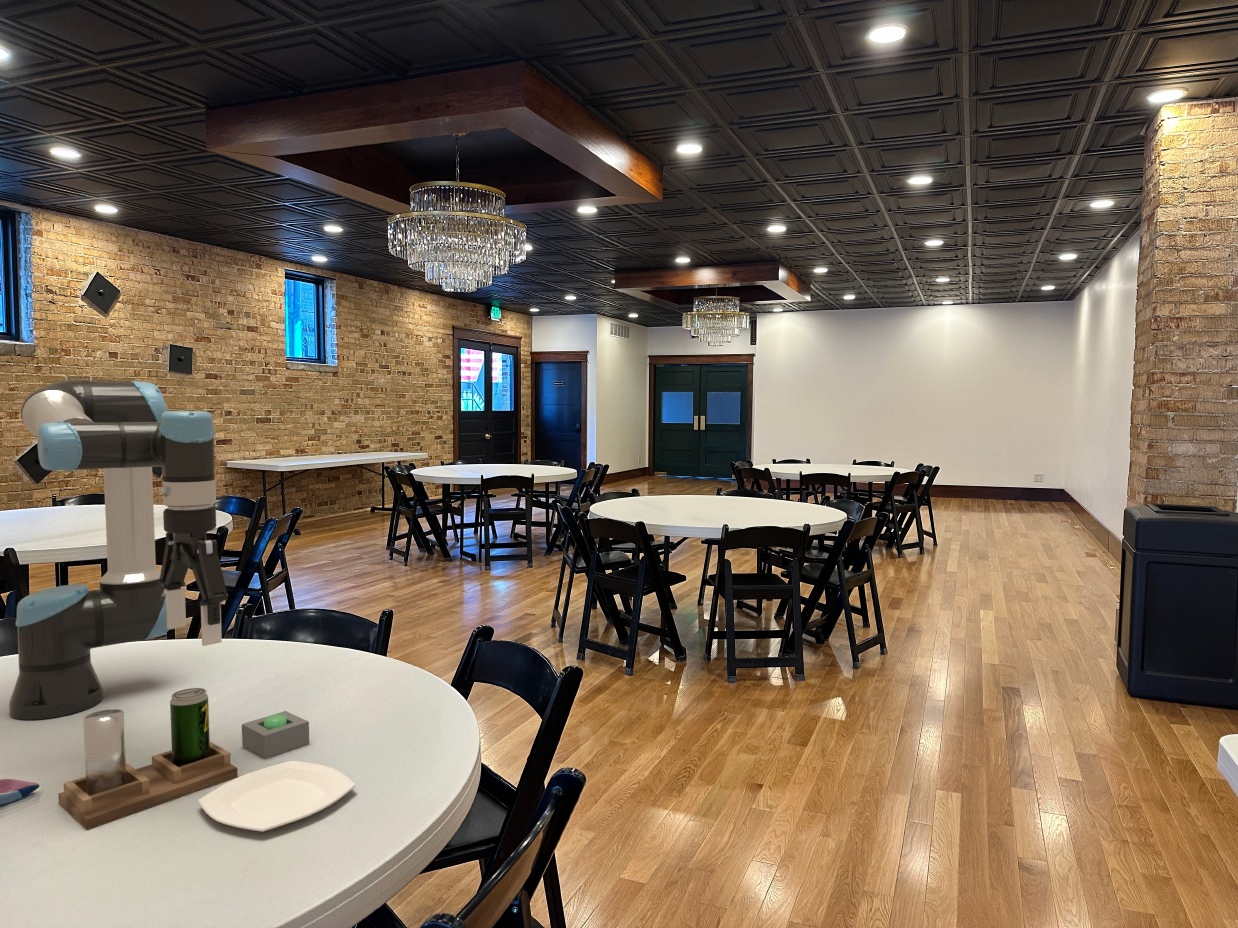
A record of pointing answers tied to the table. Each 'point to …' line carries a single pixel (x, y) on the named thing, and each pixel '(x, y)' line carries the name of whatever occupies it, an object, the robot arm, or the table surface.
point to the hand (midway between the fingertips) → (193, 635)
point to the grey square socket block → (275, 736)
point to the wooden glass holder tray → (146, 787)
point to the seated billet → (104, 750)
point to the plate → (276, 795)
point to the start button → (275, 721)
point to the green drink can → (189, 726)
